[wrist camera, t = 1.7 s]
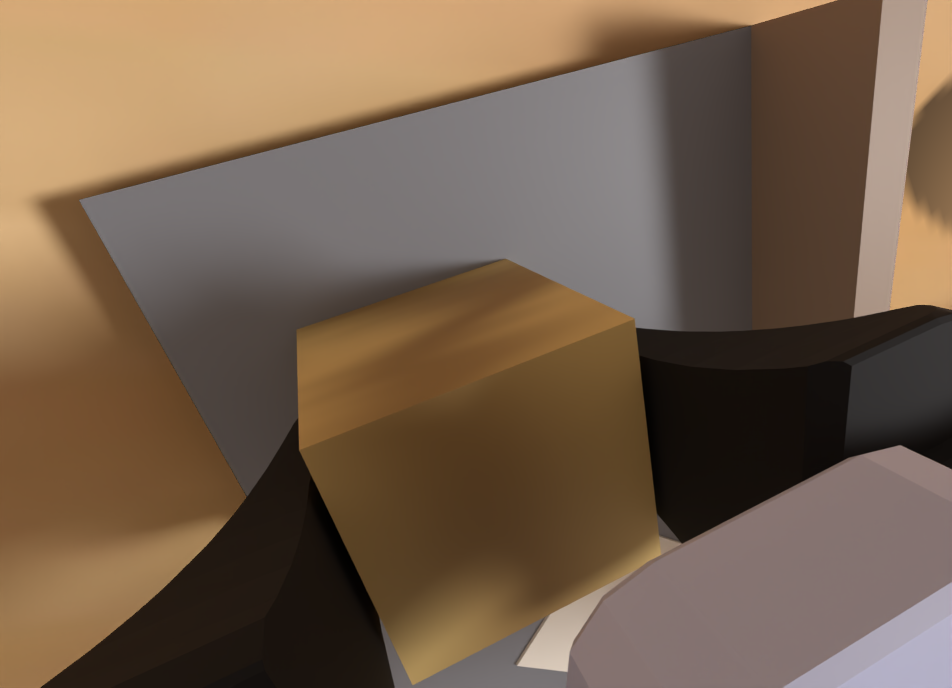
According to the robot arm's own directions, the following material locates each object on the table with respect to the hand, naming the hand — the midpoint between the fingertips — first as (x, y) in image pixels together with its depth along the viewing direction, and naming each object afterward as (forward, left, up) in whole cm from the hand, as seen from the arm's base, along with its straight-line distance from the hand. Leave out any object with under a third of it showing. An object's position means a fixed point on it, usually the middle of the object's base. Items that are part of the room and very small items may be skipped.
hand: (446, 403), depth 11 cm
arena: (-3, +6, -2) cm, 7 cm away
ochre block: (0, 0, -1) cm, 1 cm away
